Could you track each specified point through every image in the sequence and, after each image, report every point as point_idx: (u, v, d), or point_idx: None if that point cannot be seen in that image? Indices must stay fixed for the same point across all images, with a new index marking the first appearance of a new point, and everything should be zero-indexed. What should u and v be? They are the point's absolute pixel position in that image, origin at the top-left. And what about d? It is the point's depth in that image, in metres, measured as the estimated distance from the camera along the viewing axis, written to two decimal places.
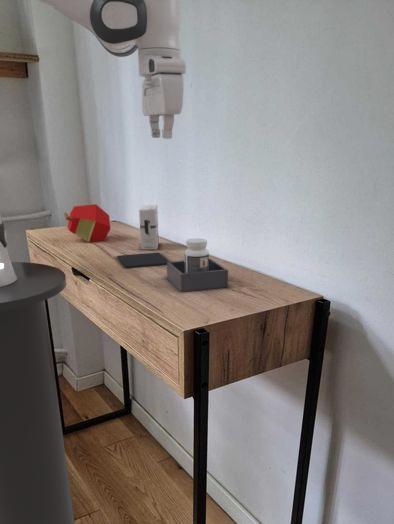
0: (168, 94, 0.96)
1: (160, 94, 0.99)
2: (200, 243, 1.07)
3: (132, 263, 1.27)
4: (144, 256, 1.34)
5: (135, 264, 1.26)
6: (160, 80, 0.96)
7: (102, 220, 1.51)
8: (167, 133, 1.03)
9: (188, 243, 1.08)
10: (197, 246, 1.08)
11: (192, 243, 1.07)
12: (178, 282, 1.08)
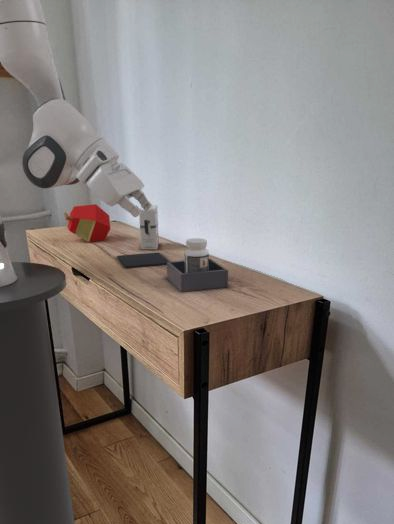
0: (100, 192, 0.99)
1: None
2: (200, 243, 1.07)
3: (132, 263, 1.27)
4: (144, 256, 1.34)
5: (135, 264, 1.26)
6: None
7: (102, 220, 1.51)
8: (133, 212, 1.04)
9: (188, 243, 1.08)
10: (197, 246, 1.08)
11: (192, 243, 1.07)
12: (178, 282, 1.08)
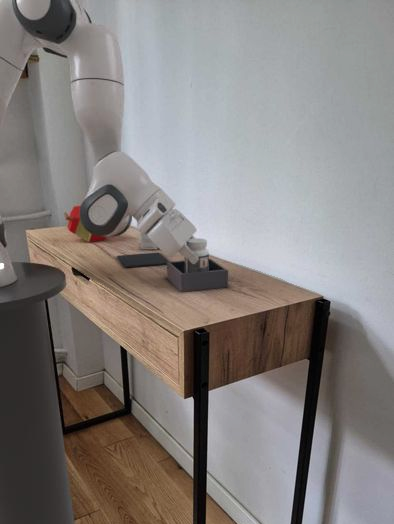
0: (161, 244, 1.01)
1: None
2: (200, 243, 1.07)
3: (132, 263, 1.27)
4: (144, 256, 1.34)
5: (135, 264, 1.26)
6: (149, 238, 1.02)
7: None
8: (192, 259, 1.07)
9: (188, 243, 1.08)
10: (197, 246, 1.08)
11: (192, 243, 1.07)
12: (178, 282, 1.08)
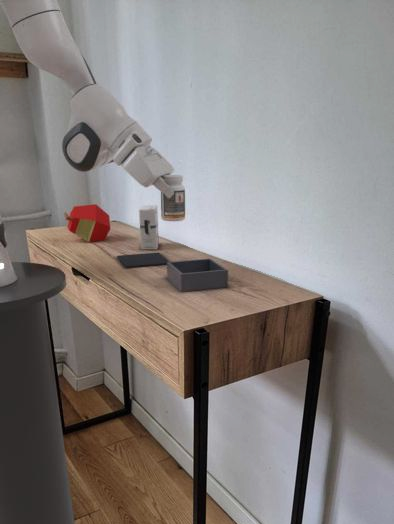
0: (135, 173, 1.02)
1: None
2: (176, 177, 1.09)
3: (132, 263, 1.27)
4: (144, 256, 1.34)
5: (135, 264, 1.26)
6: None
7: (102, 220, 1.51)
8: (168, 193, 1.08)
9: (164, 178, 1.09)
10: (172, 180, 1.09)
11: (168, 177, 1.09)
12: (178, 282, 1.08)
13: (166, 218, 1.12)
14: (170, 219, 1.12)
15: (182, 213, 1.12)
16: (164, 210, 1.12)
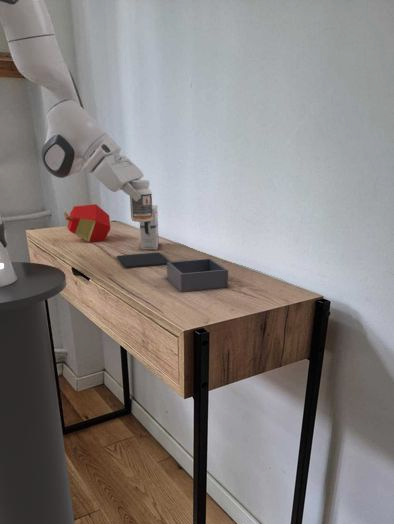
0: (104, 180, 1.15)
1: None
2: (142, 182, 1.21)
3: (132, 263, 1.27)
4: (144, 256, 1.34)
5: (135, 264, 1.26)
6: (95, 175, 1.16)
7: (102, 220, 1.51)
8: (135, 196, 1.21)
9: (132, 183, 1.22)
10: (139, 185, 1.21)
11: (135, 182, 1.21)
12: (178, 282, 1.08)
13: (135, 219, 1.25)
14: (138, 220, 1.25)
15: (149, 214, 1.25)
16: (133, 211, 1.24)
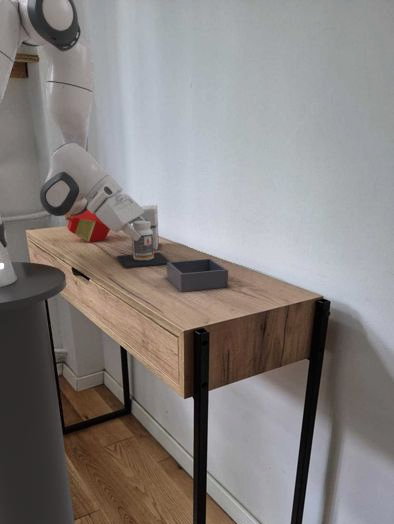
0: (106, 221, 1.19)
1: None
2: (144, 224, 1.26)
3: (132, 263, 1.27)
4: None
5: (135, 264, 1.26)
6: None
7: None
8: (135, 236, 1.24)
9: (134, 224, 1.26)
10: (141, 226, 1.26)
11: (137, 224, 1.26)
12: (178, 282, 1.08)
13: (137, 258, 1.29)
14: (140, 259, 1.29)
15: (151, 253, 1.29)
16: (134, 251, 1.29)
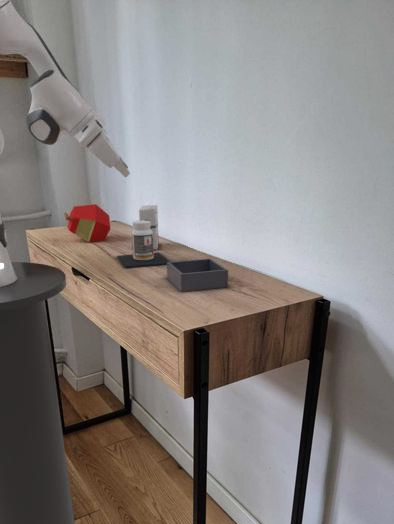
0: (102, 156, 1.19)
1: None
2: (144, 224, 1.26)
3: (132, 263, 1.27)
4: None
5: (135, 264, 1.26)
6: (91, 151, 1.19)
7: (102, 220, 1.51)
8: (124, 172, 1.26)
9: (134, 224, 1.26)
10: (141, 226, 1.26)
11: (137, 224, 1.26)
12: (178, 282, 1.08)
13: (137, 258, 1.29)
14: (140, 259, 1.29)
15: (151, 253, 1.29)
16: (134, 251, 1.29)
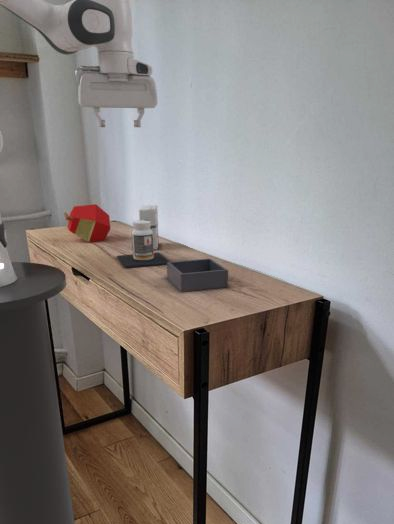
0: None
1: (143, 92, 1.25)
2: (144, 224, 1.26)
3: (132, 263, 1.27)
4: None
5: (135, 264, 1.26)
6: (153, 81, 1.24)
7: (102, 220, 1.51)
8: None
9: (134, 224, 1.26)
10: (141, 226, 1.26)
11: (137, 224, 1.26)
12: (178, 282, 1.08)
13: (137, 258, 1.29)
14: (140, 259, 1.29)
15: (151, 253, 1.29)
16: (134, 251, 1.29)
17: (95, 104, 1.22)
